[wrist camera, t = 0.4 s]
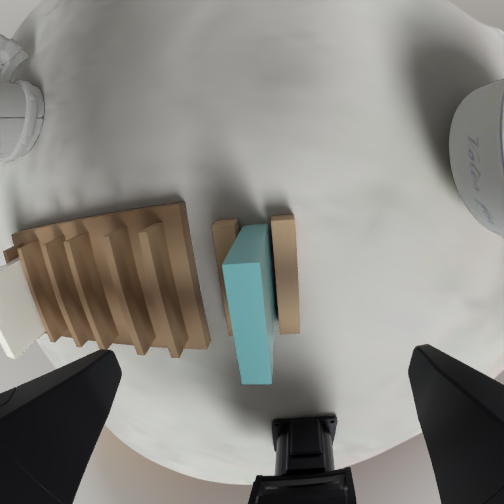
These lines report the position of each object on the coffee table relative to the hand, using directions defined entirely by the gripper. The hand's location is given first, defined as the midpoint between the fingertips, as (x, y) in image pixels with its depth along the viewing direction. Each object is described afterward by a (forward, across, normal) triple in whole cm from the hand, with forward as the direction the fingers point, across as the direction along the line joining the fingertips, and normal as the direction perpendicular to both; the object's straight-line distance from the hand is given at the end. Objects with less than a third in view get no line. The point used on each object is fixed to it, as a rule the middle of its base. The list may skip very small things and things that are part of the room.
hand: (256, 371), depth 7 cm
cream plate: (+11, +22, +2) cm, 24 cm away
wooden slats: (+12, +1, +2) cm, 12 cm away
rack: (+12, +15, +2) cm, 19 cm away
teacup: (+12, -18, -5) cm, 22 cm away
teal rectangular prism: (+12, +1, +2) cm, 12 cm away
